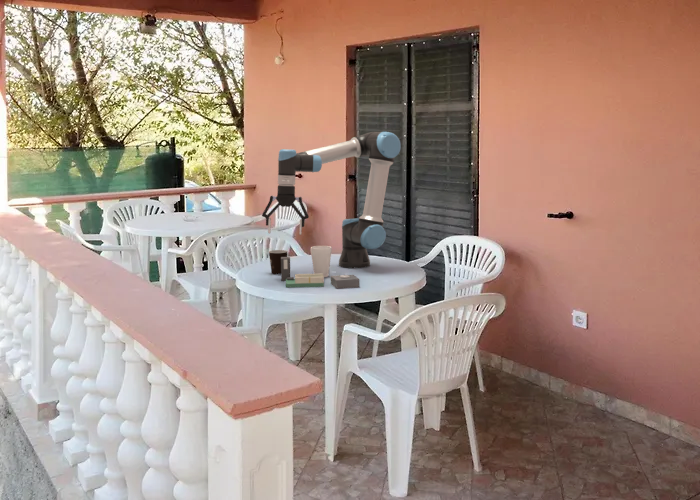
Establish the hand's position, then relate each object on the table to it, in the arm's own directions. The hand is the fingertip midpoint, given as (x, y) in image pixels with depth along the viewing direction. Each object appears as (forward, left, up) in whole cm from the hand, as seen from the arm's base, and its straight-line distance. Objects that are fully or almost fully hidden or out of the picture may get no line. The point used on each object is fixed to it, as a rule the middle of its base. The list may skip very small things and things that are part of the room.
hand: (284, 233), depth 330 cm
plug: (0, +2, -20) cm, 20 cm away
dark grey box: (-25, +16, -20) cm, 36 cm away
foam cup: (-16, -6, -21) cm, 27 cm away
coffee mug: (+3, -16, -21) cm, 26 cm away
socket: (-10, +13, -19) cm, 25 cm away
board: (-8, +12, -20) cm, 25 cm away
